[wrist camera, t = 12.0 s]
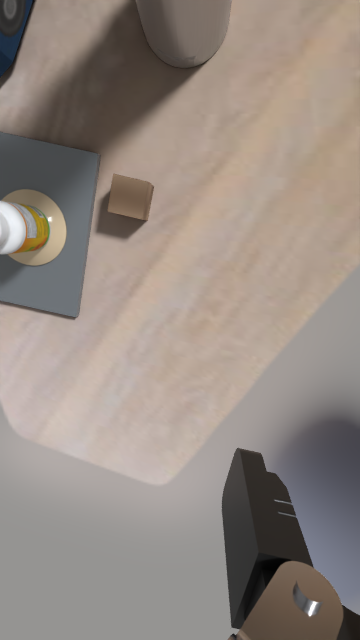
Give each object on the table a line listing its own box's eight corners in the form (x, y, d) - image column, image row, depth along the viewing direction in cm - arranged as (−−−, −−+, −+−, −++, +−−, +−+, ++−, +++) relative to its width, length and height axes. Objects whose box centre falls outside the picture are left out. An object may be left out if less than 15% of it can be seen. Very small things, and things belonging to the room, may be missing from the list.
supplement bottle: (13, 252, 41) (-41, 258, 32) (5, 206, 40) (-55, 199, 31) (55, 249, 41) (13, 254, 32) (48, 203, 40) (1, 195, 30)
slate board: (-16, 129, 39) (-23, 126, 38) (100, 155, 39) (97, 153, 38) (-24, 292, 44) (-30, 294, 43) (78, 315, 44) (75, 317, 43)
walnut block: (121, 179, 40) (113, 173, 36) (154, 186, 40) (149, 182, 36) (116, 213, 41) (107, 211, 37) (147, 220, 41) (142, 219, 37)
